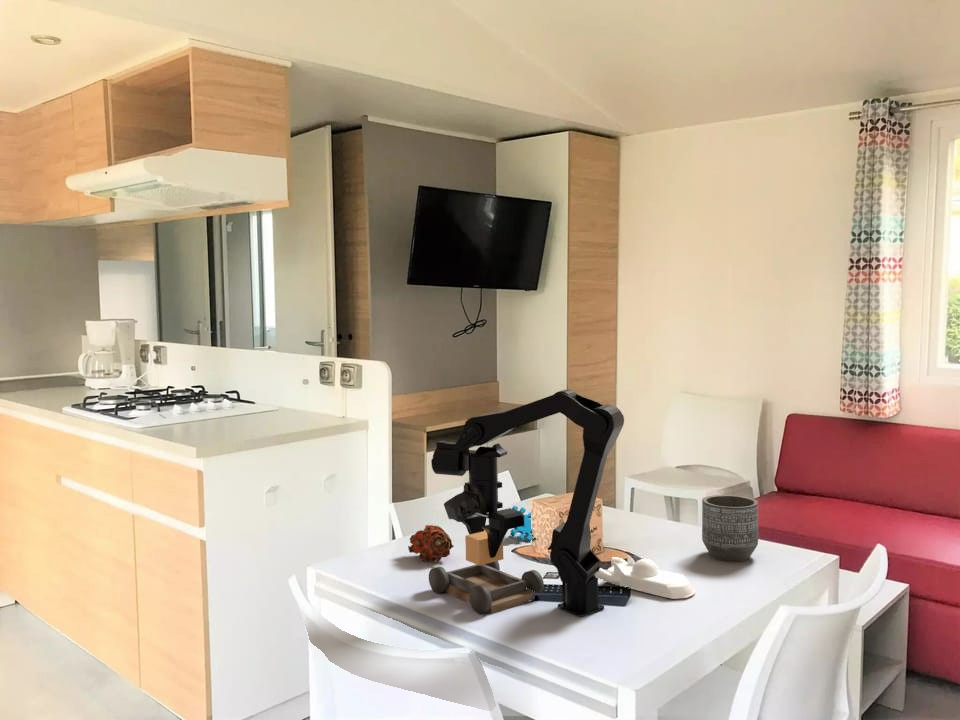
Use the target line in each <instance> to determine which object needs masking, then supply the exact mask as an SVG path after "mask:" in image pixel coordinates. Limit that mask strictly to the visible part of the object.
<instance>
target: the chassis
mask: <svg viewBox="0 0 960 720" xmlns="http://www.w3.org/2000/svg"><path fill="white" fill-rule="evenodd" d="M428 582H429V586H430V589H431V590H432V591H433V592H434V593H436V594H440V593H444V592H445V593H447V594H449V595H451V596H453V597H455V598H458V599H460V600H462V601H464V602H466V603H468V604H470V606H471V608H472V609H473V611H474V612H475V613H477V614H483V613H486V612H487V613H490V614H495V613H497V612H502V611H505V610H507V609H510V608H511V609H512V608H513V607H517V606H520V605H524V604H526V602H527V603H529V602H528V601H529V600H530V598H531V597H532V595H533V594H534V593H535V592H540V591H542V590H543V591H544V590H545V582H544V579H543V577H542V575H541V573H540V572H539V571H538V570H535V569H530V570H528V571H525V572H523V574H522V575H521V578H519V577H517V576H514V575H512V574H510V573H507V572H504V571H501V570H500V563H499V561H495V562H491V563H487V564H484V565H480V566H479V565H477V564H473V565H469V566H466V567H461V568H458V569H454V570H450V571H446V569H445V568H444V567H443V566H436V567H432V568H430V570H429V572H428ZM526 587H527V588H529V589H531V590H533V591H531V590H530V591H529V590H526ZM534 591H535V592H534Z"/></svg>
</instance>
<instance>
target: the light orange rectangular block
mask: <svg viewBox="0 0 960 720" xmlns="http://www.w3.org/2000/svg"><path fill="white" fill-rule="evenodd" d="M464 537H465V561H467V562H470V563H473V565H476V564H477V565H479V566H480V565H484V564H487V563H491V562H495V561H498V562H499V561H501V560H504V540H503V541H502V543H501V545H500V547H499V549H498V552H497V554H496V556H495V557H493V558H490V555H489V548H488V537H487V532H486V531H485V530H484V531H483V532H479V533H474V534H470V535H469V534H467V535H465V536H464Z"/></svg>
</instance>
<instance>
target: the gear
mask: <svg viewBox="0 0 960 720" xmlns="http://www.w3.org/2000/svg"><path fill="white" fill-rule="evenodd" d="M511 509H514V510H518V511H521V512H522V513H523V514H524V513H525V512H526V511H527V509H526V508H525V507H521V508H520V509H519V507H518V506H516V505H513V507H511ZM531 513H532V512H531V511H530V512H528V514H524V524H525V525H524V526H520V527H516V528H512V529H510V533H509V535H510V536H511V537H514V536H515V535H516V534H517V533H519V535H518V536H517V538H518V540H520V541H523V540H526V542H528V543H529V542H530V541H531V540H532V541H533V538H532V529H531V520H532V518H531ZM525 535H526V538H525ZM532 541H531V542H532Z"/></svg>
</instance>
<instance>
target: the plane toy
mask: <svg viewBox="0 0 960 720" xmlns="http://www.w3.org/2000/svg"><path fill="white" fill-rule="evenodd" d="M610 564H611V566H610V567H608V568H607V570H605V569H603V568H601V567H600V569H599V571H598V572H596V573H595V574H594V575H595V576H596V578H600V579H599V580H601V579H603V580H602V581H604V582H606V581H607V582H610V583H612V584H611V585H614V584H615V585H614V586H618V585H620V586H619V587H622V586H627V587H630V588H631V589H630V588H629V589H630V590H635V591H639V592H642V593H645V594H646V593H647V594H651V595H655V596H659V597H662V598H668V599H672V600H678V599H687V598H690V597H692V596H693V595H694V594H695V593H696V590H695V588H694V587H693V585H692V584H691V582H690V581H689V580H688V579H687V577H685V576H684V574H681V573H677V572H671V571H666V570H661V569H659V567H658V566H657V564H656V563H655V562H654V561H653V560H652V559H648V558H642V559H638V560H636V561H635V560H634V559H633V558H632V556H630V555H627V561H626V560H625V559H624V558H621V557H616V556H612V557H611V560H610ZM607 582H606V583H607ZM610 583H609V584H610Z"/></svg>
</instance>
